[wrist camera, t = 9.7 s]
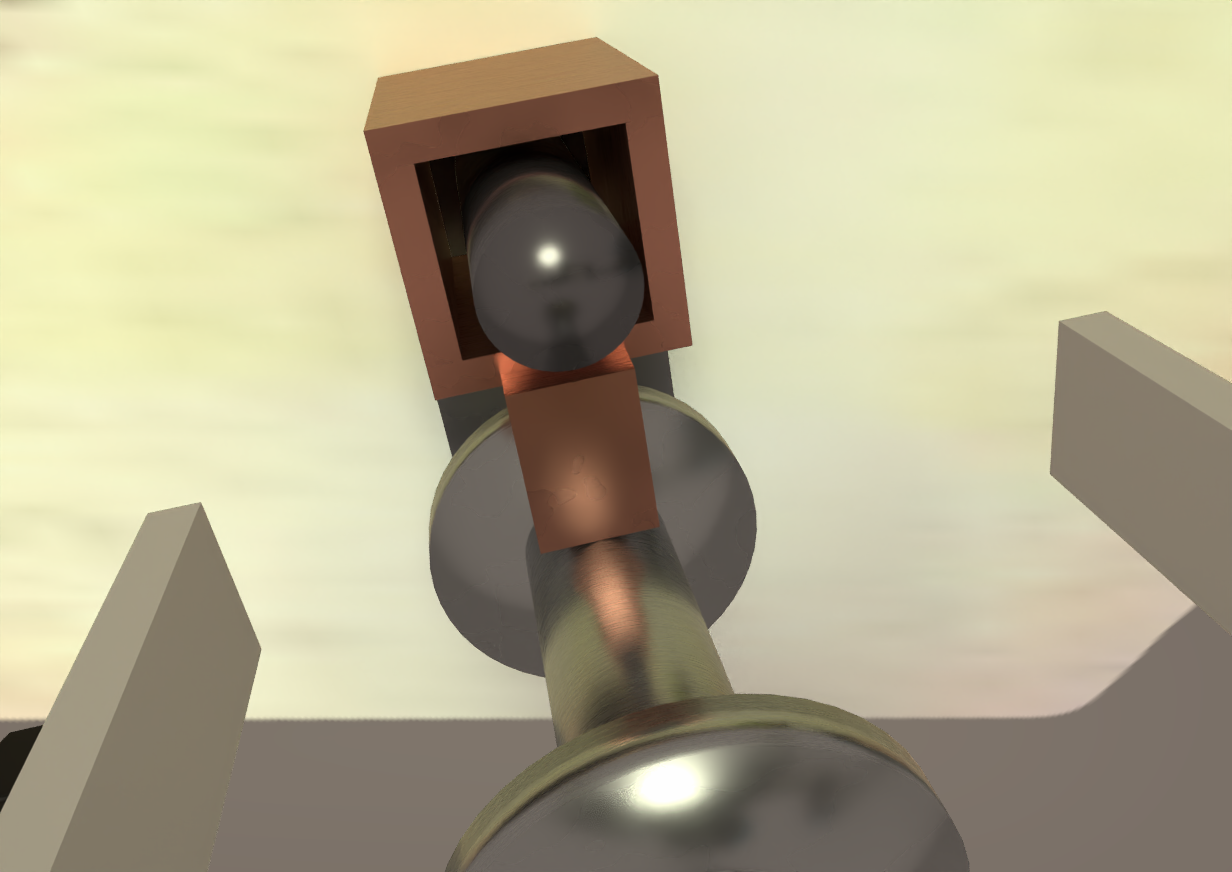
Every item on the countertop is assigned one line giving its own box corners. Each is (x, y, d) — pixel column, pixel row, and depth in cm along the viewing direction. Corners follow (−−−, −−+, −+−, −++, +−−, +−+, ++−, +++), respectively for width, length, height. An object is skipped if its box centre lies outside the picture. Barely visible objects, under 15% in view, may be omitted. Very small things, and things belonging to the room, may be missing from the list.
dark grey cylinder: (556, 97, 35) (631, 190, 23) (576, 210, 37) (655, 352, 24) (442, 119, 35) (455, 226, 22) (468, 232, 36) (493, 387, 24)
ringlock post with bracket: (646, 27, 34) (1299, 317, 9) (710, 519, 44) (1113, 1339, 18) (325, 87, 33) (28, 599, 8) (461, 576, 43) (524, 1522, 17)
